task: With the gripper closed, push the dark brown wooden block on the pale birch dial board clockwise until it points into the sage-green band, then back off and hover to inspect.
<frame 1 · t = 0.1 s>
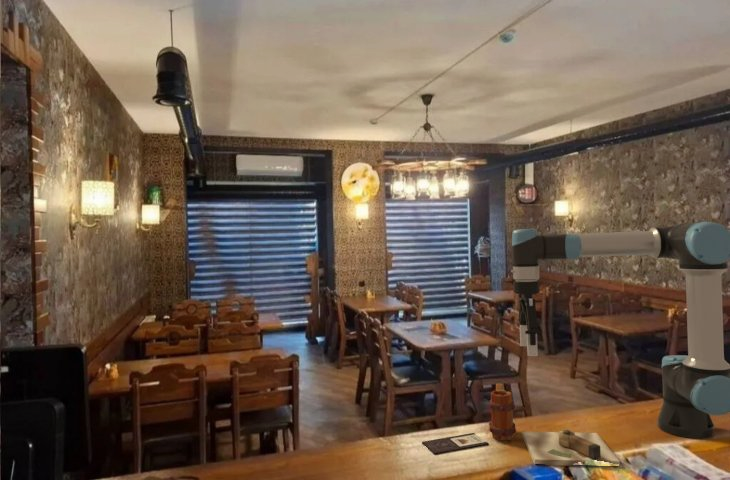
hand: (528, 350, 154), 28 cm above the bar counter, fingers open, 13 cm apart
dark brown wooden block: (578, 443, 144), point 4 cm above the bar counter, hinge at 120.0°
chocolate bar: (455, 446, 155), on the bar counter
dial board: (567, 450, 148), on the bar counter
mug: (502, 435, 161), on the bar counter
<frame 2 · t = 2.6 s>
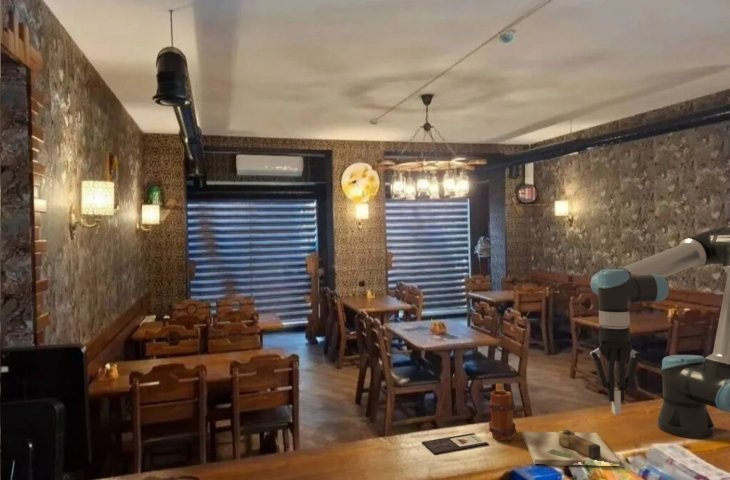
hand: (616, 413, 138), 14 cm above the bar counter, fingers closed
nothing on the bar counter moved.
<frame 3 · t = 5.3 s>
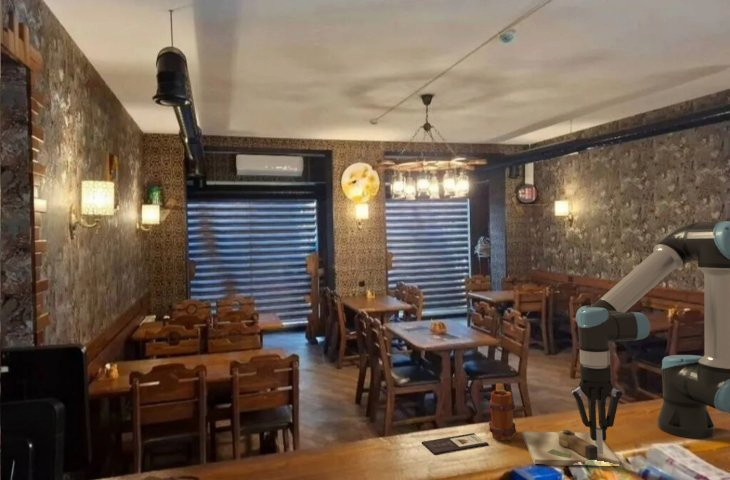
hand: (598, 451, 139), 3 cm above the bar counter, fingers closed
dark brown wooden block: (577, 443, 144), point 4 cm above the bar counter, hinge at 113.7°, touching gripper
everything else where it was.
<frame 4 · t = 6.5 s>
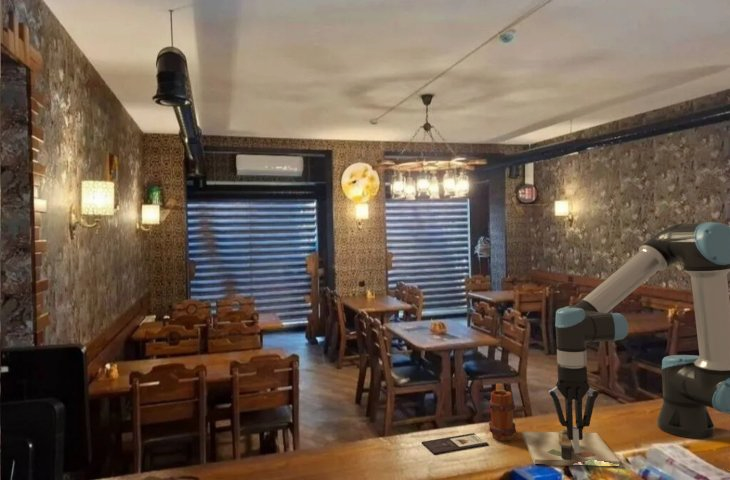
hand: (575, 451, 140), 3 cm above the bar counter, fingers closed
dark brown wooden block: (566, 443, 144), point 4 cm above the bar counter, hinge at 75.6°, touching gripper
everything else where it was.
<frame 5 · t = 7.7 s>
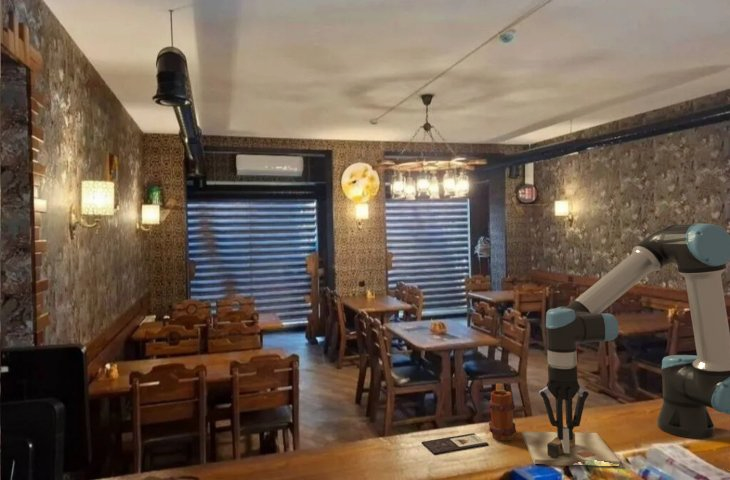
hand: (565, 450, 140), 3 cm above the bar counter, fingers closed
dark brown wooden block: (561, 442, 145), point 4 cm above the bar counter, hinge at 55.8°, touching gripper
everything else where it was.
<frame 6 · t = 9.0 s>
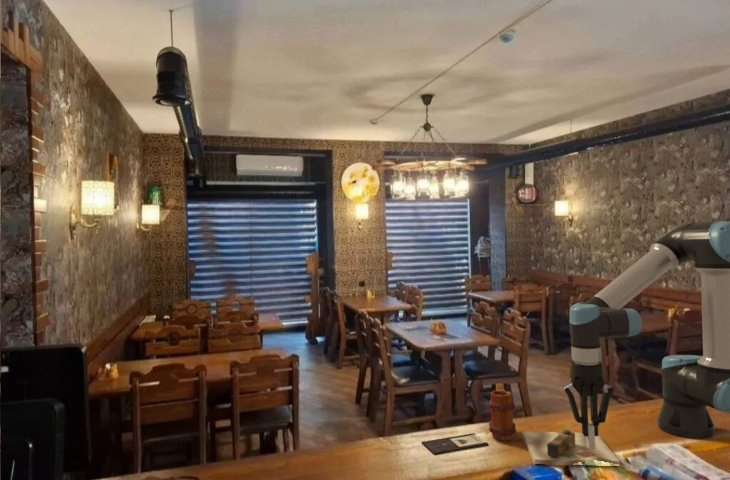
hand: (590, 447, 139), 4 cm above the bar counter, fingers closed
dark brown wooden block: (561, 442, 145), point 4 cm above the bar counter, hinge at 55.7°
everything else where it was.
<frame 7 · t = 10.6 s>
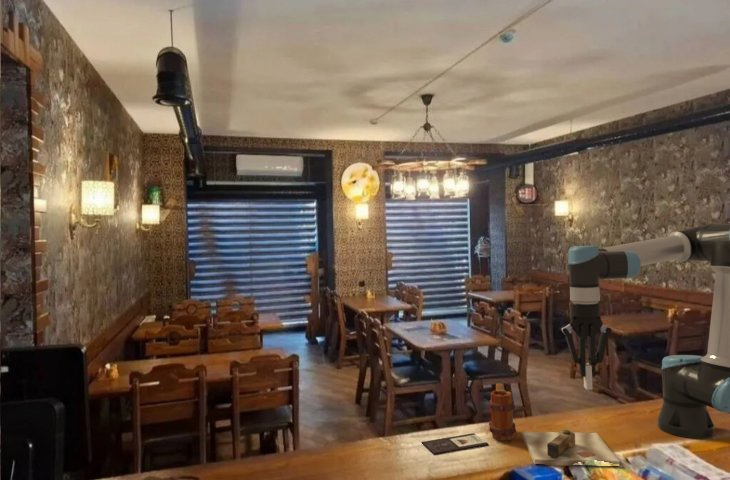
hand: (588, 388, 140), 20 cm above the bar counter, fingers closed
nothing on the bar counter moved.
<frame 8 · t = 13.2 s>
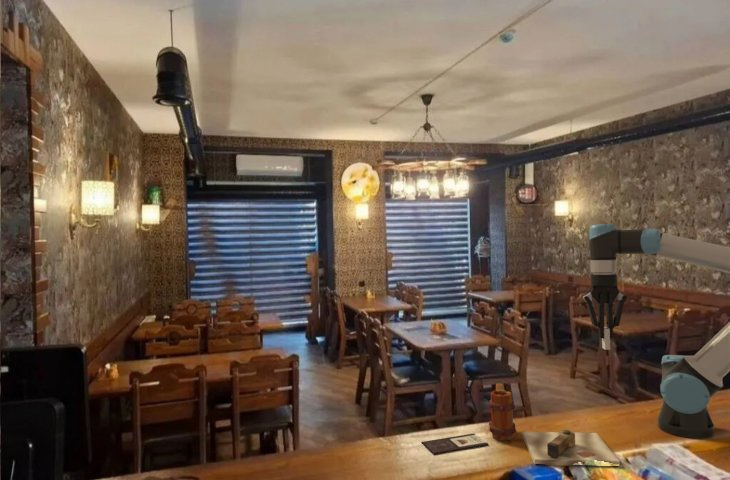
hand: (606, 348, 159), 26 cm above the bar counter, fingers closed
nothing on the bar counter moved.
at the end: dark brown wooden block at +56° (first picture: +120°) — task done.
